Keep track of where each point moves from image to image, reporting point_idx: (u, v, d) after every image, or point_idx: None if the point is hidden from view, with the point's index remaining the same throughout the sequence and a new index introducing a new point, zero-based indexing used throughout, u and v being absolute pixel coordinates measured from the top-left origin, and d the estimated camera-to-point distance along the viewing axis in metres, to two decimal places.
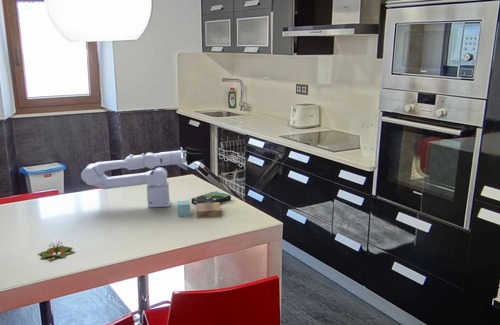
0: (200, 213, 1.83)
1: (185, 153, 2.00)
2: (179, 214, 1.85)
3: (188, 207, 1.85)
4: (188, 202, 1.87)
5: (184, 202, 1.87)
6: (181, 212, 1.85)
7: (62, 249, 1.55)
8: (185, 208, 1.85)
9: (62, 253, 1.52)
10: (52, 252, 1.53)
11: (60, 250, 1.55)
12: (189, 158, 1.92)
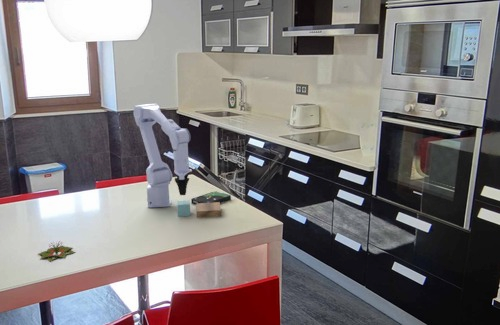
0: (200, 213, 1.83)
1: None
2: (179, 214, 1.85)
3: (188, 207, 1.85)
4: (188, 202, 1.87)
5: (184, 202, 1.87)
6: (181, 212, 1.85)
7: (62, 249, 1.55)
8: (185, 208, 1.85)
9: (62, 253, 1.52)
10: (52, 252, 1.53)
11: (60, 250, 1.55)
12: (181, 181, 1.80)
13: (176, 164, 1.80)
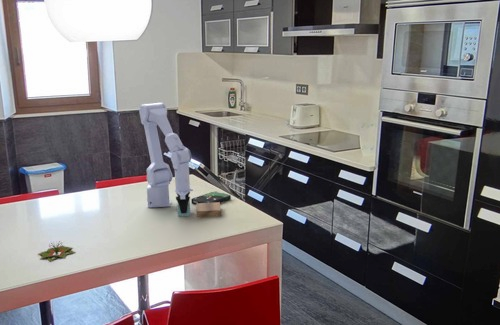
0: (200, 213, 1.83)
1: None
2: (179, 214, 1.85)
3: (188, 206, 1.85)
4: (188, 202, 1.87)
5: None
6: None
7: (62, 249, 1.55)
8: None
9: (62, 253, 1.52)
10: (52, 252, 1.53)
11: (60, 250, 1.55)
12: None
13: (177, 183, 1.82)
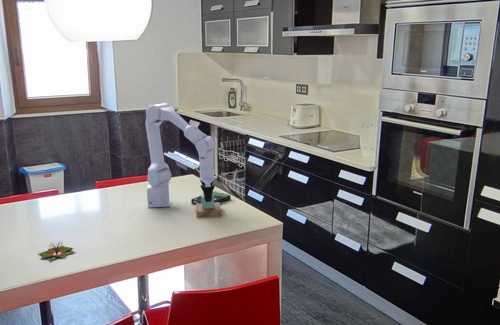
0: (200, 213, 1.83)
1: None
2: (203, 206, 1.86)
3: (212, 199, 1.85)
4: (212, 194, 1.87)
5: None
6: (205, 204, 1.85)
7: (62, 249, 1.55)
8: None
9: (62, 253, 1.52)
10: (52, 252, 1.53)
11: (60, 250, 1.54)
12: (207, 188, 1.82)
13: (202, 171, 1.82)
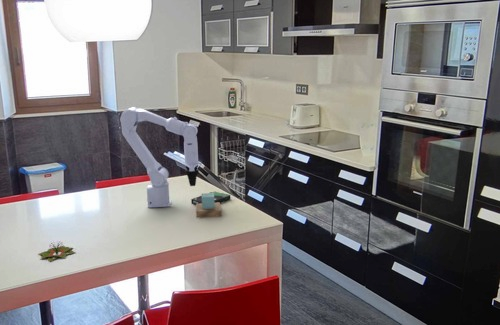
0: (200, 213, 1.83)
1: None
2: (203, 206, 1.86)
3: (212, 199, 1.85)
4: (212, 195, 1.87)
5: (208, 195, 1.88)
6: (205, 204, 1.86)
7: (62, 249, 1.55)
8: (210, 200, 1.85)
9: (62, 253, 1.52)
10: (52, 252, 1.53)
11: (60, 250, 1.54)
12: None
13: (186, 157, 1.92)
